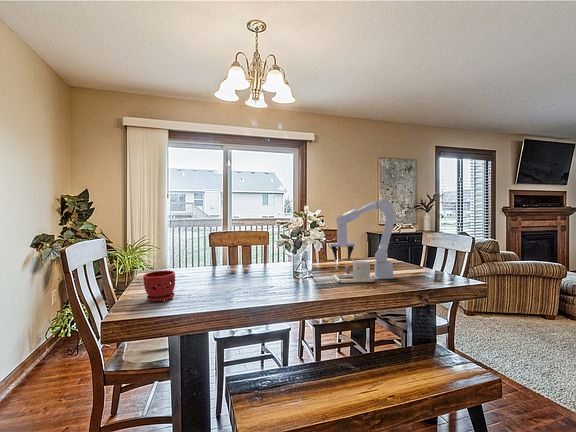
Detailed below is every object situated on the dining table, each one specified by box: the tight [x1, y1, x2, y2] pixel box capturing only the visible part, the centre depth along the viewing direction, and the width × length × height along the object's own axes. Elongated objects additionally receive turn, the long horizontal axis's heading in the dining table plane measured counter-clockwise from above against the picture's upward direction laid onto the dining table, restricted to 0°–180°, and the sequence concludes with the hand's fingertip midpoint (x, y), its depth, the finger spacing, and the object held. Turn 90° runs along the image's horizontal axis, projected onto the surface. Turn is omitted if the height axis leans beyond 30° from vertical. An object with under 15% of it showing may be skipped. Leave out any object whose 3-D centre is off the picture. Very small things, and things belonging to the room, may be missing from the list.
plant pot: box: [142, 269, 176, 302], centre depth 145 cm, size 13×13×12 cm
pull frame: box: [332, 265, 376, 284], centre depth 181 cm, size 19×20×5 cm
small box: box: [352, 260, 371, 279], centre depth 175 cm, size 8×6×10 cm
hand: (342, 259), depth 190 cm, fingers open, 7 cm apart
